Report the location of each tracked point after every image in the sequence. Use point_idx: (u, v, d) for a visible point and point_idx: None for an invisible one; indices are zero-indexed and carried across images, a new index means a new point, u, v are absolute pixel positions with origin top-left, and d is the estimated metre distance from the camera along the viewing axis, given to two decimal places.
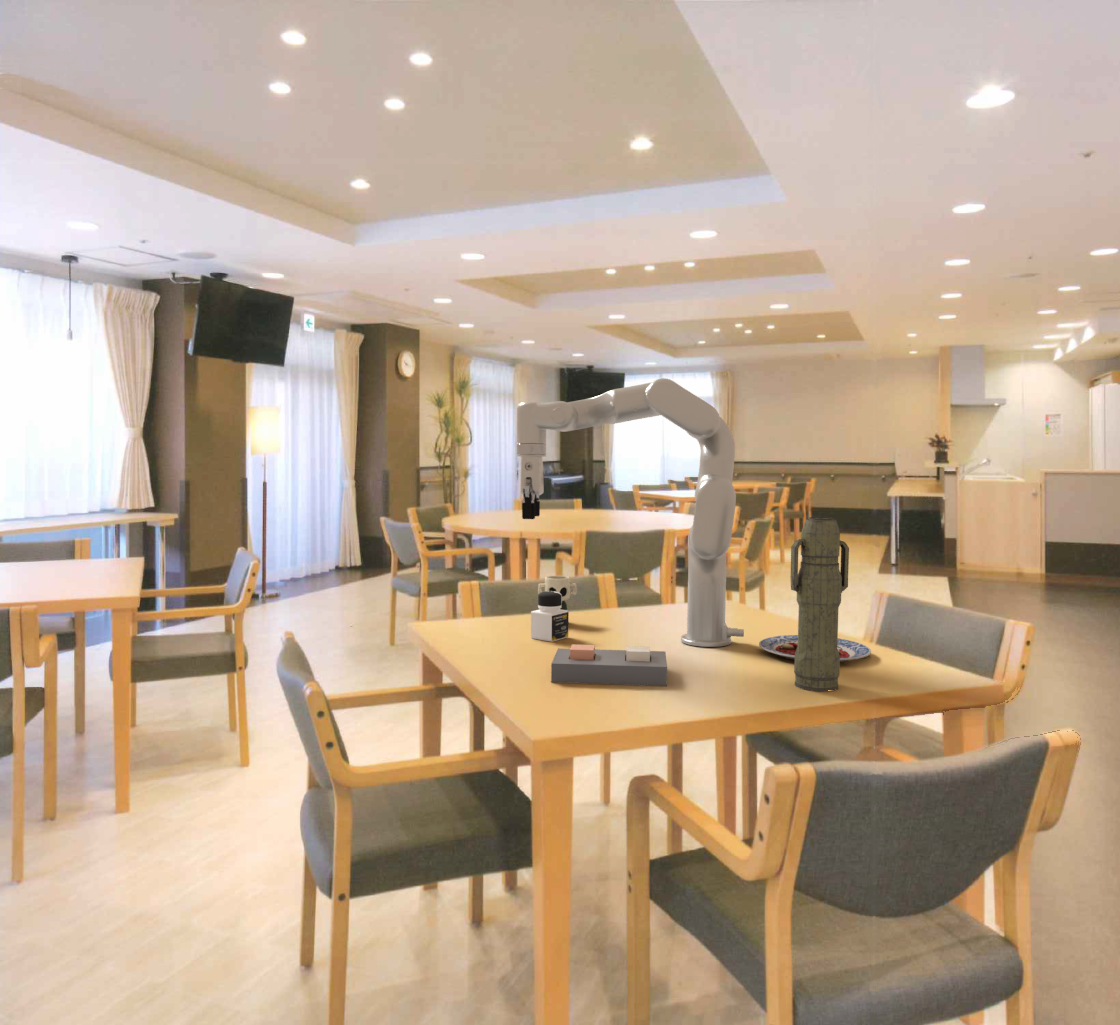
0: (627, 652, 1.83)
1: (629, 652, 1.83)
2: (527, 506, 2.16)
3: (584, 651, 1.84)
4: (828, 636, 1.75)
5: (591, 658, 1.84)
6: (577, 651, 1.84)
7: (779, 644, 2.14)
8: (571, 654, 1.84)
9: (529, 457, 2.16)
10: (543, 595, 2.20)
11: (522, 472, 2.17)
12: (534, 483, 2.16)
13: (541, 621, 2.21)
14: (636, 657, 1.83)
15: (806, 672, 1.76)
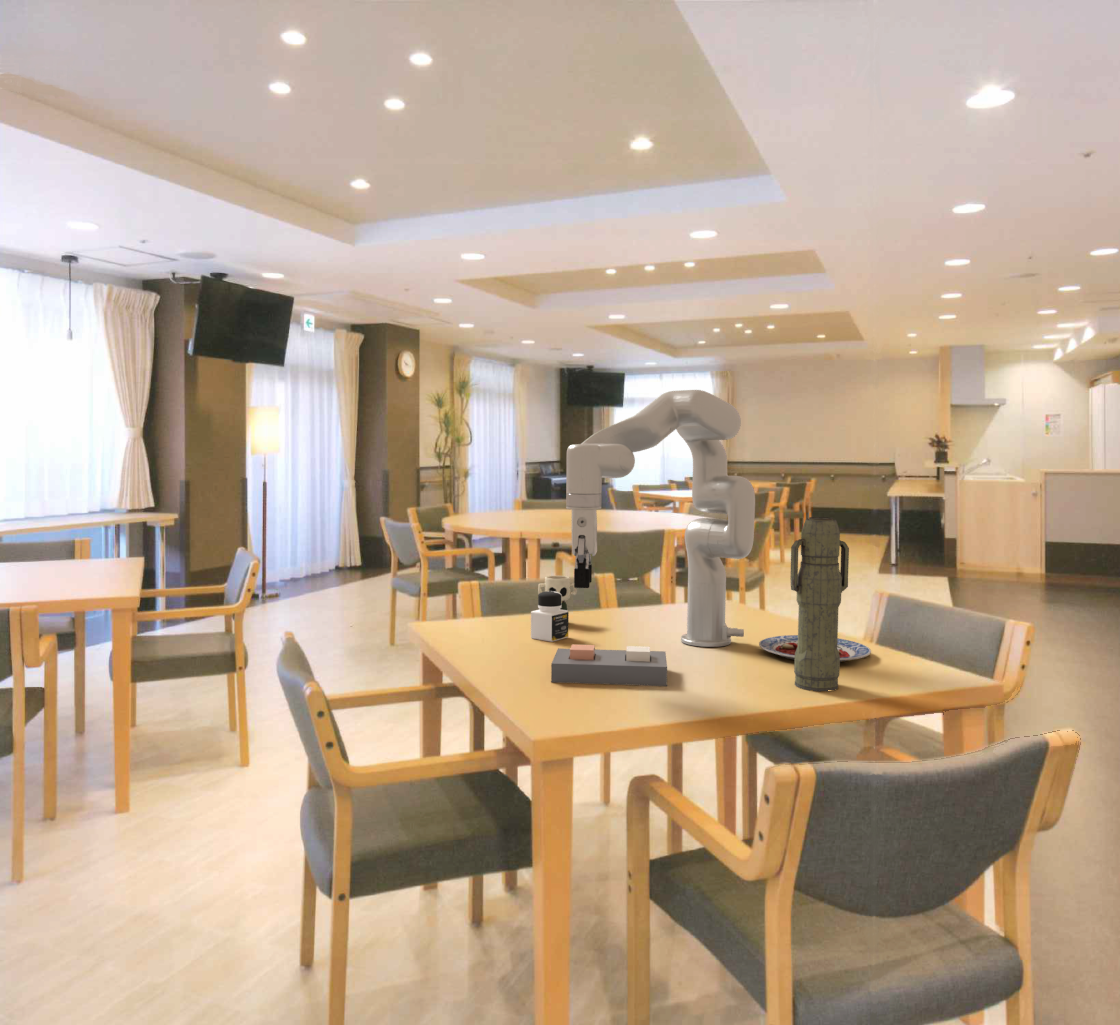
0: (627, 652, 1.83)
1: (629, 652, 1.83)
2: (580, 573, 1.81)
3: (584, 651, 1.84)
4: (828, 636, 1.75)
5: (591, 658, 1.84)
6: (577, 651, 1.84)
7: (779, 644, 2.14)
8: (571, 654, 1.84)
9: (582, 511, 1.80)
10: (543, 595, 2.20)
11: (574, 529, 1.80)
12: (588, 542, 1.80)
13: (541, 621, 2.21)
14: (636, 657, 1.83)
15: (806, 672, 1.76)
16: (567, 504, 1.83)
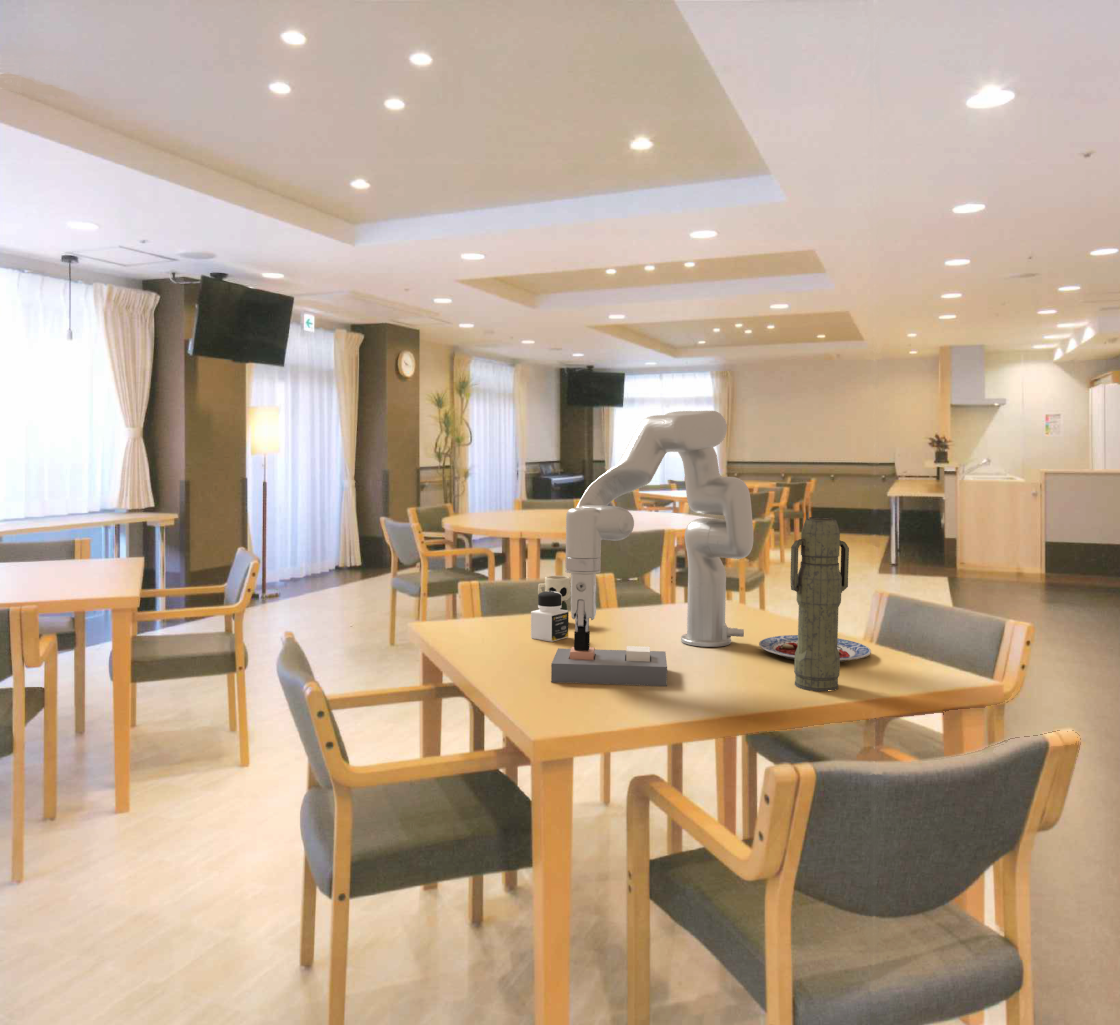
0: (627, 652, 1.83)
1: (629, 652, 1.83)
2: (580, 636, 1.85)
3: (584, 653, 1.84)
4: (828, 636, 1.75)
5: None
6: (577, 653, 1.84)
7: (779, 644, 2.14)
8: (571, 656, 1.84)
9: (581, 575, 1.81)
10: (543, 595, 2.20)
11: (573, 593, 1.81)
12: (587, 607, 1.81)
13: (541, 621, 2.21)
14: (636, 657, 1.83)
15: (806, 672, 1.76)
16: (566, 567, 1.84)
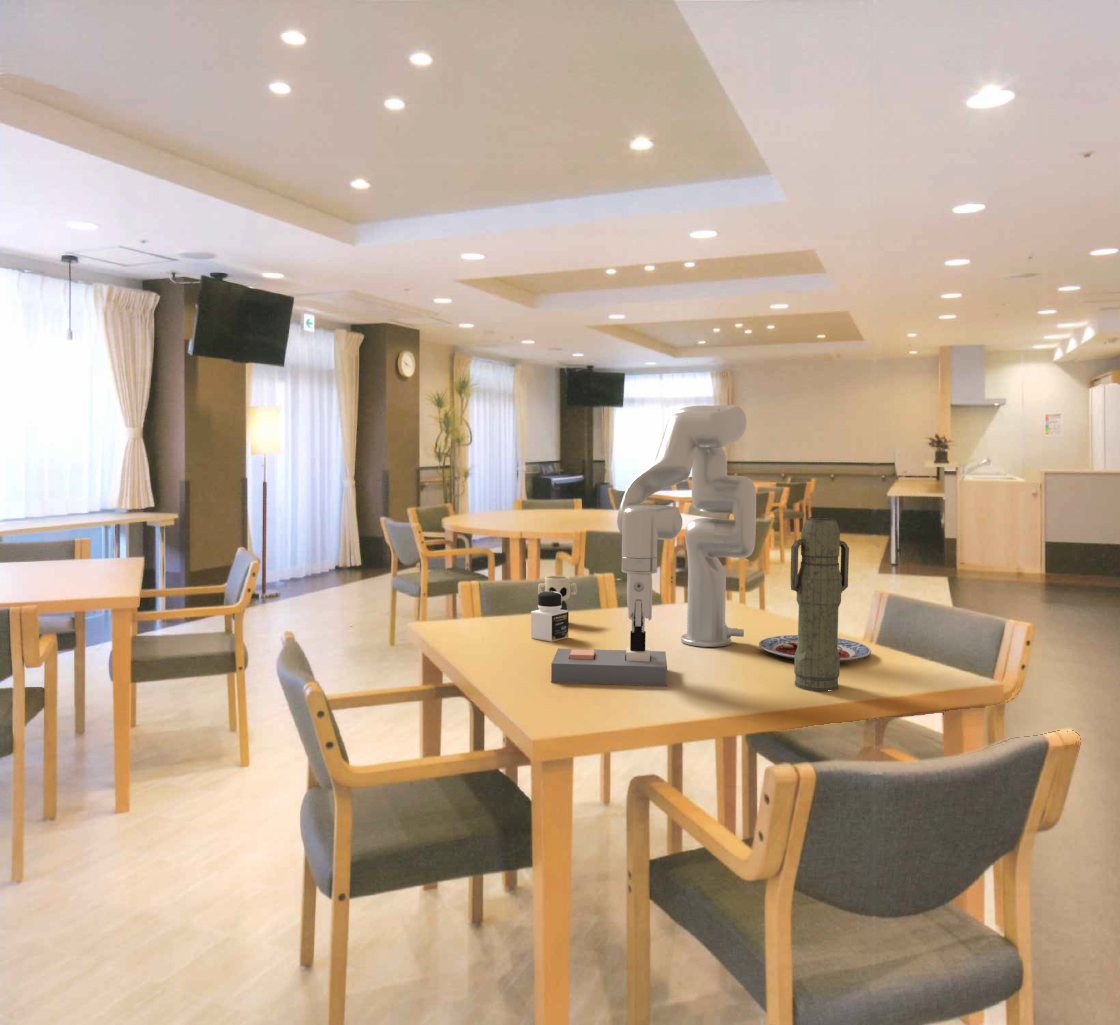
0: (627, 653, 1.83)
1: (629, 653, 1.83)
2: (637, 636, 1.84)
3: (584, 656, 1.84)
4: (828, 636, 1.75)
5: None
6: (577, 656, 1.84)
7: (779, 644, 2.14)
8: None
9: (639, 575, 1.80)
10: (543, 595, 2.20)
11: (630, 593, 1.80)
12: (645, 607, 1.79)
13: (541, 621, 2.21)
14: (636, 659, 1.83)
15: (806, 672, 1.76)
16: (623, 567, 1.83)
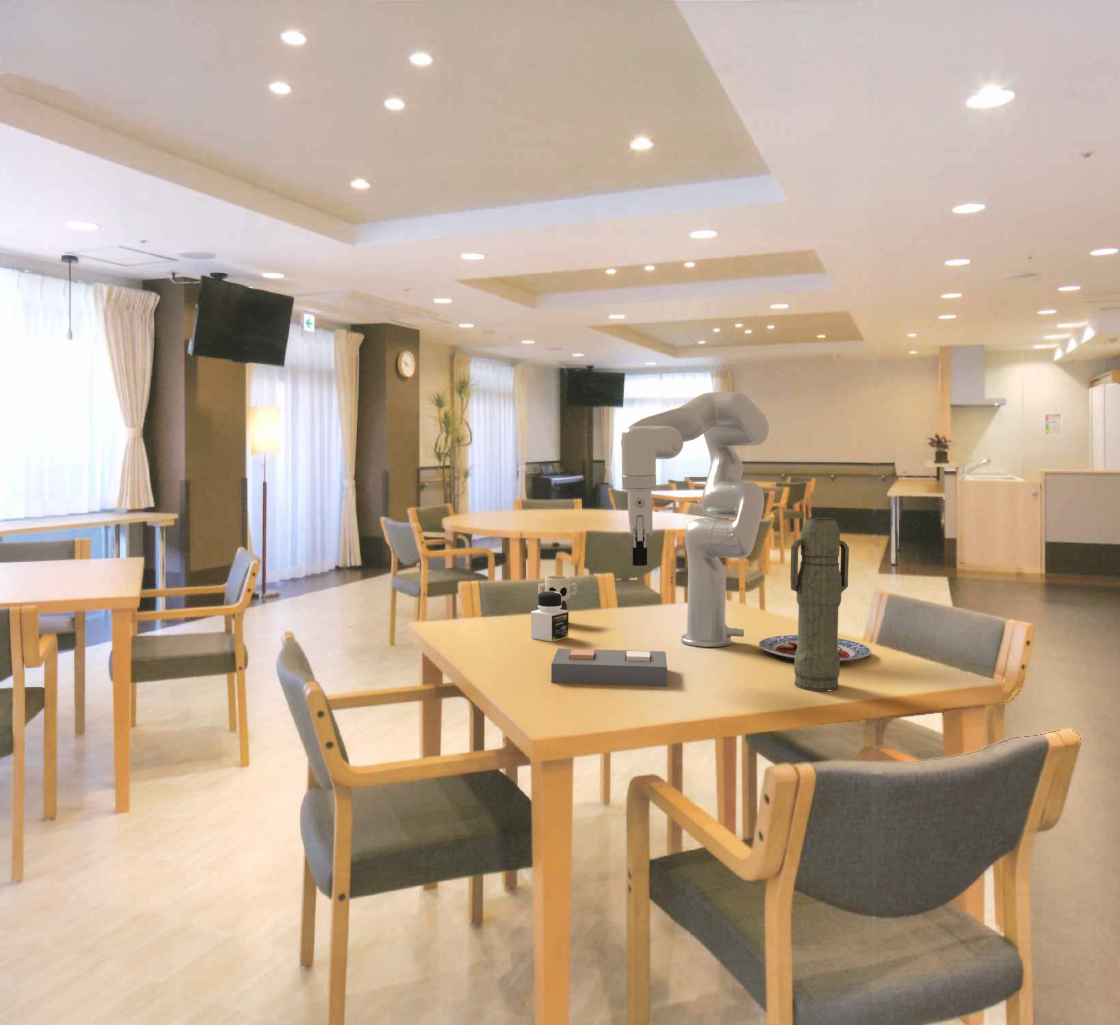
0: (627, 657, 1.83)
1: (629, 657, 1.83)
2: (639, 551, 1.91)
3: (584, 656, 1.84)
4: (828, 636, 1.75)
5: None
6: (577, 656, 1.84)
7: (779, 644, 2.14)
8: None
9: (640, 492, 1.87)
10: (543, 595, 2.20)
11: (632, 509, 1.87)
12: (646, 522, 1.87)
13: (541, 621, 2.21)
14: None
15: (806, 672, 1.76)
16: (623, 486, 1.90)
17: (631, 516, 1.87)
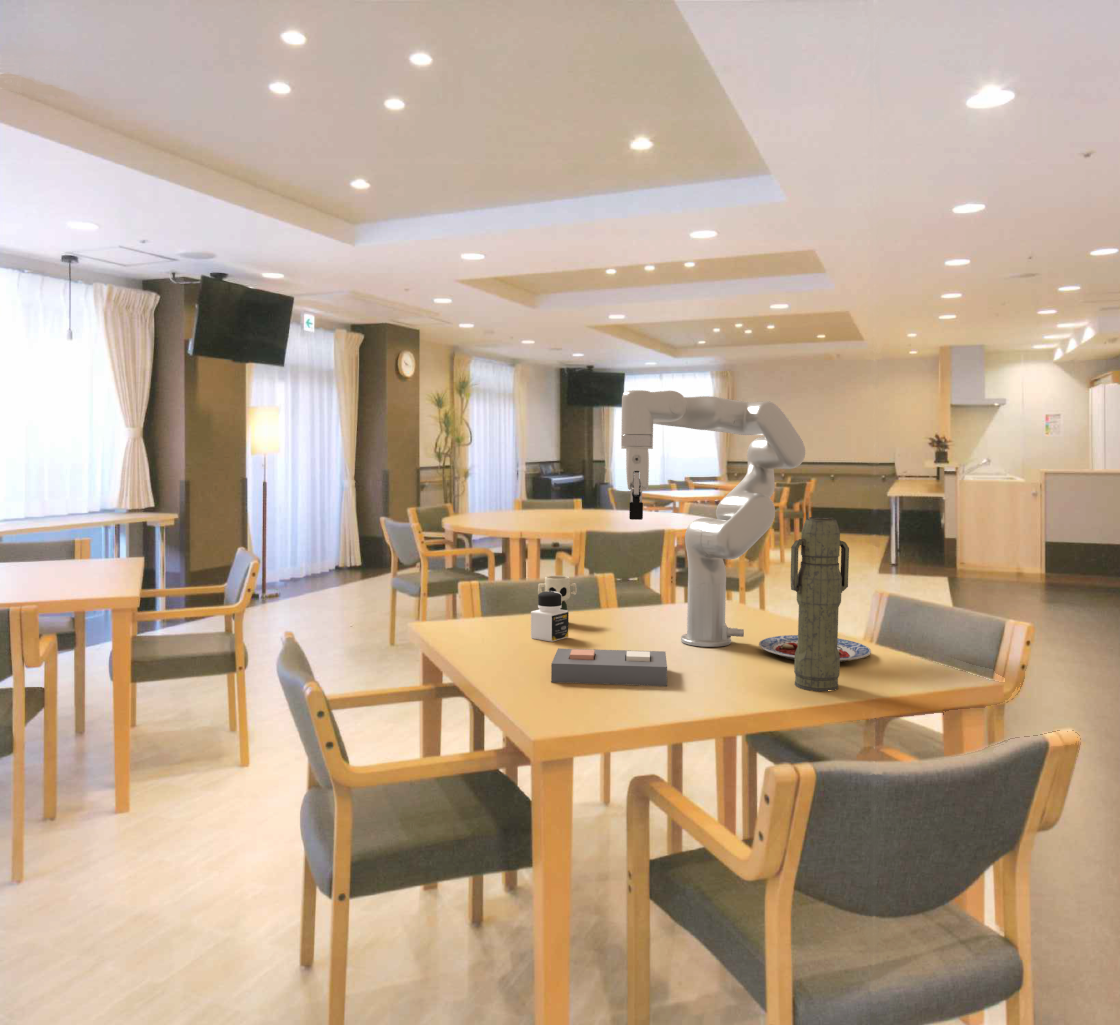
0: (627, 657, 1.83)
1: (629, 657, 1.83)
2: (635, 506, 2.06)
3: (584, 656, 1.84)
4: (828, 636, 1.75)
5: None
6: (577, 656, 1.84)
7: (779, 644, 2.14)
8: None
9: (637, 449, 2.02)
10: (543, 595, 2.20)
11: (629, 465, 2.02)
12: (642, 477, 2.02)
13: (541, 621, 2.21)
14: None
15: (806, 672, 1.76)
16: (622, 444, 2.05)
17: (628, 471, 2.02)
